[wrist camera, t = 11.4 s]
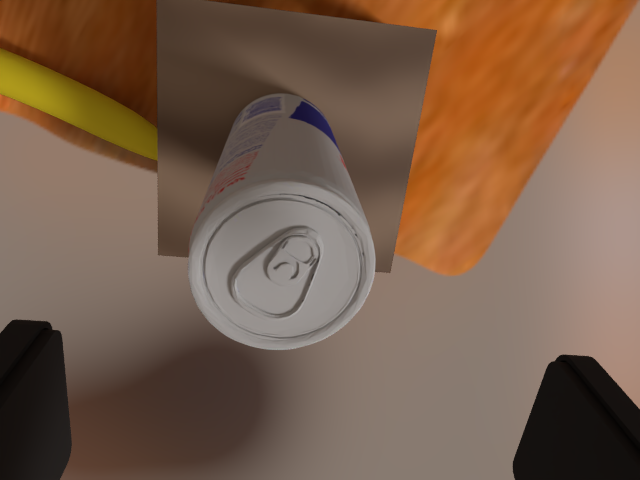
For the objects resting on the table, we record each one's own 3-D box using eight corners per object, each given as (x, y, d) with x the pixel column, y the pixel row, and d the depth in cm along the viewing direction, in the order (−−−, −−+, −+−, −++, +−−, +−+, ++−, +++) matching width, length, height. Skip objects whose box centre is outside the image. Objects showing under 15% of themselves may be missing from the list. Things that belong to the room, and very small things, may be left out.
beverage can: (233, 194, 29) (192, 359, 16) (226, 92, 27) (169, 183, 13) (332, 191, 30) (375, 351, 16) (333, 91, 27) (384, 178, 14)
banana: (193, 167, 39) (178, 195, 33) (-80, 50, 34) (-153, 58, 29) (208, 132, 38) (194, 155, 32) (-71, 6, 33) (-145, 6, 28)
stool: (190, -2, 34) (156, -6, 25) (397, 25, 36) (436, 30, 27) (186, 198, 40) (158, 255, 31) (366, 214, 41) (390, 272, 32)
